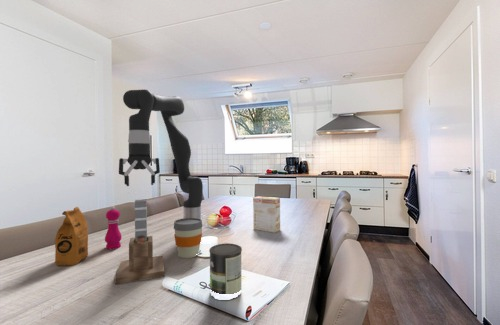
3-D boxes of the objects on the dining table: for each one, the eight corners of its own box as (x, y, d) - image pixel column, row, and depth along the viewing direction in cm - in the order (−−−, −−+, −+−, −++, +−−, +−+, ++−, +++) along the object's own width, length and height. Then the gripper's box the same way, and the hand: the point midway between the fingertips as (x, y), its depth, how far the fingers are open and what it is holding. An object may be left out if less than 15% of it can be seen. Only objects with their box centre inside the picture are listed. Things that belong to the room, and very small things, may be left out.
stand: (162, 260, 109) (162, 228, 108) (164, 276, 94) (164, 239, 94) (120, 266, 103) (120, 232, 103) (115, 284, 88) (114, 244, 88)
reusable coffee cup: (207, 251, 119) (207, 218, 119) (193, 261, 107) (192, 225, 107) (184, 248, 123) (184, 217, 123) (168, 257, 111) (167, 223, 111)
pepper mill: (114, 250, 121) (114, 208, 121) (101, 249, 122) (100, 207, 122) (125, 245, 128) (124, 205, 128) (112, 244, 130) (111, 204, 129)
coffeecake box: (280, 230, 153) (280, 197, 153) (275, 233, 147) (275, 199, 147) (259, 226, 161) (258, 195, 161) (253, 229, 155) (252, 197, 155)
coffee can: (208, 302, 77) (208, 255, 76) (210, 285, 87) (210, 243, 87) (243, 300, 78) (242, 253, 77) (241, 283, 88) (240, 242, 88)
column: (147, 245, 101) (146, 199, 101) (146, 248, 97) (146, 200, 97) (135, 246, 99) (135, 199, 99) (135, 249, 96) (134, 201, 95)
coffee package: (50, 267, 102) (49, 212, 102) (68, 255, 115) (67, 206, 114) (76, 266, 103) (75, 211, 103) (92, 254, 116) (91, 206, 116)
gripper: (159, 143, 103) (159, 183, 104) (119, 143, 98) (120, 185, 99) (159, 142, 96) (160, 185, 97) (117, 141, 91) (118, 187, 92)
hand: (140, 185), depth 98 cm, fingers open, 8 cm apart
